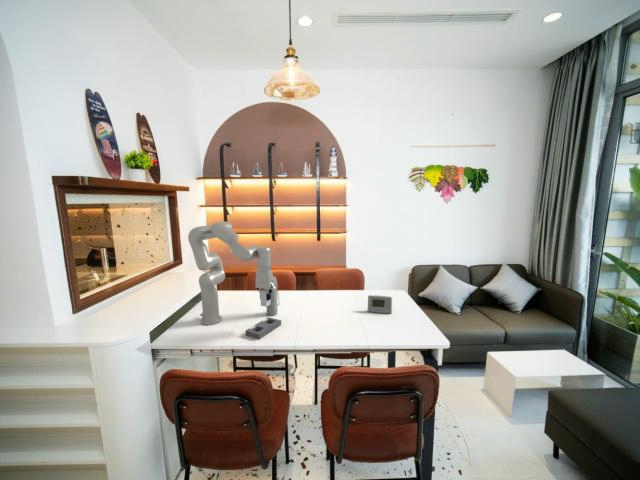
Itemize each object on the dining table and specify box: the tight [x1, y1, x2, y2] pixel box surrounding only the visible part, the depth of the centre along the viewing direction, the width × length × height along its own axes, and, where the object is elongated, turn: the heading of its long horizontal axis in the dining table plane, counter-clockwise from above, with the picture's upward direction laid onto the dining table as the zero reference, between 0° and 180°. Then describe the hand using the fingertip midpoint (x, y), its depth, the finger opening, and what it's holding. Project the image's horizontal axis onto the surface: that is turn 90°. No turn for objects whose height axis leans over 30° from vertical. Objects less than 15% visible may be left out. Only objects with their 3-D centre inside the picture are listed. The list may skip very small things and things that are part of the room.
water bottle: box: [266, 275, 280, 317], centre depth 182 cm, size 9×8×25 cm
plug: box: [259, 289, 271, 308], centre depth 159 cm, size 4×4×10 cm
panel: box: [244, 316, 282, 340], centre depth 159 cm, size 10×20×3 cm, turn 152°
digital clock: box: [367, 294, 393, 314], centre depth 185 cm, size 16×9×11 cm, turn 66°
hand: (265, 298), depth 159 cm, fingers closed on plug, 4 cm apart
